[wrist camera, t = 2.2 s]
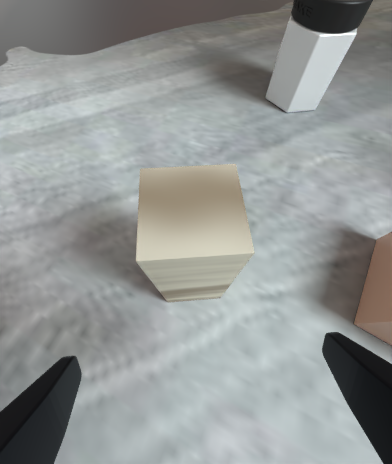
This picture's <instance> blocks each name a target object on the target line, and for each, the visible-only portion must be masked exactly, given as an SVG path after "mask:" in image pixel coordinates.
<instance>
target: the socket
mask: <svg viewBox="0 0 392 464" xmlns="http://www.w3.org/2000/svg"><path fill="white" fill-rule="evenodd" d="M354 324H355V325H356V326H358V327H360V328H362V329H363V330H365V331H367V332H369V333H370V334H372V335H374V336H376V337H377V338H379V339H381V340H383V341H384V342H386V343H388V344H390V345H391V346H392V232H390V233H388V234H387V235H385V236H383V237H381V238H379V239H377V240H376V244H375V247H374V251H373V255H372V258H371V262H370V266H369V269H368V273H367V277H366V280H365V284H364V288H363V292H362V295H361V299H360V303H359V306H358V310H357V314H356V317H355V321H354Z"/></svg>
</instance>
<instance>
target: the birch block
mask: <svg viewBox="0 0 392 464" xmlns="http://www.w3.org/2000/svg"><path fill="white" fill-rule="evenodd" d="M253 255H254V248H253V243H252V239H251V234H250V229H249V224H248V220H247V215H246V210H245V205H244V201H243V196H242V191H241V186H240V182H239V177H238V172H237V167H236V164H225V165H205V166H185V167H165V168H145V169H140V184H139V205H138V226H137V248H136V262H137V264H138V265H139V266H140V267H141V269H142V270H143V271H144V273H145V274H146V275H147V276H148V278H149V279H150V280H151V281H152V283H153V284H154V285H155V287H156V288H157V289H158V290H159V292H160V293H161V294H162V296H163V297H164V298H165V299H166V301H167V302H178V301H191V300H203V299H216V298H221V296H222V295H223V294H224V293H225V291H226V290H227V289H228V287H229V286H230V285H231V283H232V282H233V281H234V279H235V278H236V277H237V275H238V274H239V273H240V272H241V270H242V269H243V268H244V266H245V265H246V264H247V262H248V261H249V260H250V258H251V257H252V256H253Z"/></svg>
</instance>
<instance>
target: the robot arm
mask: <svg viewBox="0 0 392 464" xmlns="http://www.w3.org/2000/svg"><path fill="white" fill-rule="evenodd" d="M322 352H323V356H324V358H325V360H326V362H327V364H328V366H329V368H330V370H331V372H332V374H333V376H334V378H335V380H336V382H337V384H338V386H339V388H340V390H341V392H342V394H343V396H344V398H345V400H346V402H347V404H348V405H349V407H350V409H351V411H352V412H353V414H354V416H355V417H356V419H357V420H358V422H359V424H360V425H361V427H362V429H363V430H364V432H365V434H366V435H367V437H368V439H369V440H370V442H371V444H372V445H373V447H374V449H375V450H376V452H377V454H378V455H379V457H380V459H381V460H382V462H383V464H392V364H391V363H389V362H388V361H386V360H384V359H382V358H381V357H379V356H377V355H376V354H374V353H372V352H371V351H369V350H367V349H366V348H364V347H362V346H361V345H359V344H357V343H356V342H354V341H352V340H351V339H349V338H347V337H346V336H344V335H342V334H340V333H338V332H331V333H326V335H325V338H324V343H323V348H322ZM81 375H82V374H81V369H80V366H79V363H78V360H77V357H76V356H66V357H62V358H61V359H60V360H59V361H57V362H56V363H55V364H54V365H53V366H52V367H51V368H49V369H48V370H47V371H46V372H45V373H44V374H43V375H42V376H40V377H39V378H38V379H37V380H36V381H35V382H34V383H33V384H31V385H30V386H29V387H28V388H27V389H26V390H25V391H23V392H22V393H21V394H20V395H19V396H18V397H17V398H16V399H14V400H13V401H12V402H11V403H10V404H9V405H8V406H7V407H5V408H4V409H3V410H2V411H1V412H0V464H54V462H55V459H56V456H57V454H58V451H59V449H60V446H61V443H62V441H63V438H64V435H65V432H66V429H67V426H68V422H69V419H70V415H71V412H72V409H73V405H74V402H75V398H76V395H77V391H78V388H79V385H80V381H81Z"/></svg>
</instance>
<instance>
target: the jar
mask: <svg viewBox="0 0 392 464" xmlns="http://www.w3.org/2000/svg"><path fill="white" fill-rule="evenodd" d="M372 1H373V0H294V2H293V8H292V11H291V14H292V15H291V17H290V19H289V22H288V25H287V28H286V31H285V34H284V38H283V40H282V43H281V45H280V48H279V51H278V55H277V58H276V62H275V65H274V70H273V74H272V77H271V80H270V83H269V87H268V90H267V93H266V99H267V100H269V101H270V102H272V103H273V104H275V105H276V106H278V107H279V108H281V109H282V110H284V111H285V112H287V113H289V112H300V111H311V110H315V109H316V107H317V105H318V104H319V102H320V100H321V98H322V96H323V94H324V93H325V91H326V89H327V87H328V85H329V83H330V82H331V80H332V78H333V76H334V74H335V72H336V71H337V69H338V67H339V65H340V63H341V61H342V60H343V58H344V56H345V54H346V52H347V51H348V49H349V47H350V45H351V43H352V41H353V40H354V38H355V36H356V34H357V28H358V27H359V25H360V23H361V22H362V20H363V18H364V16H365V14H366V12H367V10H368V9H369V7H370V5H371V3H372Z"/></svg>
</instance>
